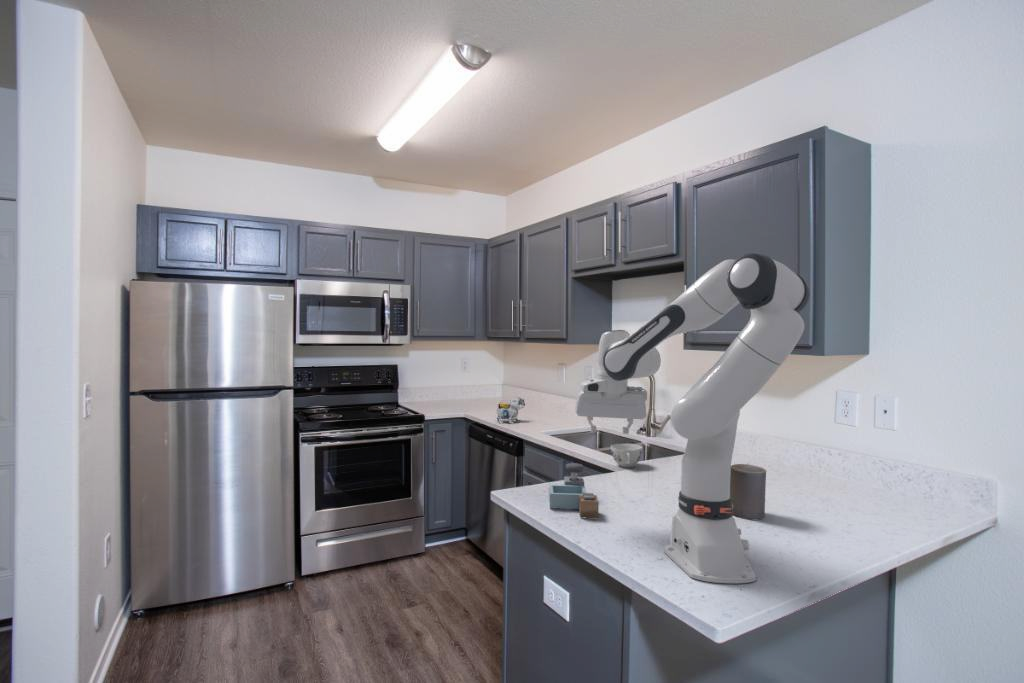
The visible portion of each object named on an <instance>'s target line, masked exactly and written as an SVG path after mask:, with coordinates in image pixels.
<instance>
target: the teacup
mask: <svg viewBox="0 0 1024 683" xmlns="http://www.w3.org/2000/svg"><path fill="white" fill-rule="evenodd" d="M643 447H644V446H642V445H639V444H635V443H633V444H632V443H616V444H611V445H610V451H611V455H612V458H613V459H614V461H615V463H616V464H618V466H619V467H621V468H628V469H629V468H634V467H635V466H636V464H638V462H639V461H640V460H641V457H642V454H643V449H644V448H643Z"/></svg>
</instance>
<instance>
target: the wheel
mask: <svg viewBox="0 0 1024 683" xmlns="http://www.w3.org/2000/svg"><path fill="white" fill-rule="evenodd" d="M565 471H567V472H569V473H570V477H571V480H575V481H577V477H578V473H582V472H584V465H583V464H581V463H577V462H576V463H575V462H569V463H566V464H565Z"/></svg>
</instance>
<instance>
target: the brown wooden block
mask: <svg viewBox="0 0 1024 683" xmlns="http://www.w3.org/2000/svg"><path fill="white" fill-rule="evenodd" d="M599 505H600V504H599V498H598V496H597V494H594V493H593V492H587V493H583V495H579V510H578V513H580V514H579V517H586V518H585V519H591V518H598V519H599Z"/></svg>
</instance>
